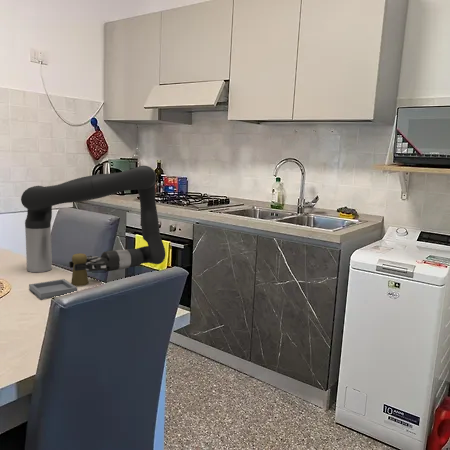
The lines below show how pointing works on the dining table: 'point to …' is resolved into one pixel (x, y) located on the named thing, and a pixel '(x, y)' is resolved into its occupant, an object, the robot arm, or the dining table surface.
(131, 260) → the robot arm
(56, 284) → the tray
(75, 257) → the cork
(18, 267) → the dining table surface
